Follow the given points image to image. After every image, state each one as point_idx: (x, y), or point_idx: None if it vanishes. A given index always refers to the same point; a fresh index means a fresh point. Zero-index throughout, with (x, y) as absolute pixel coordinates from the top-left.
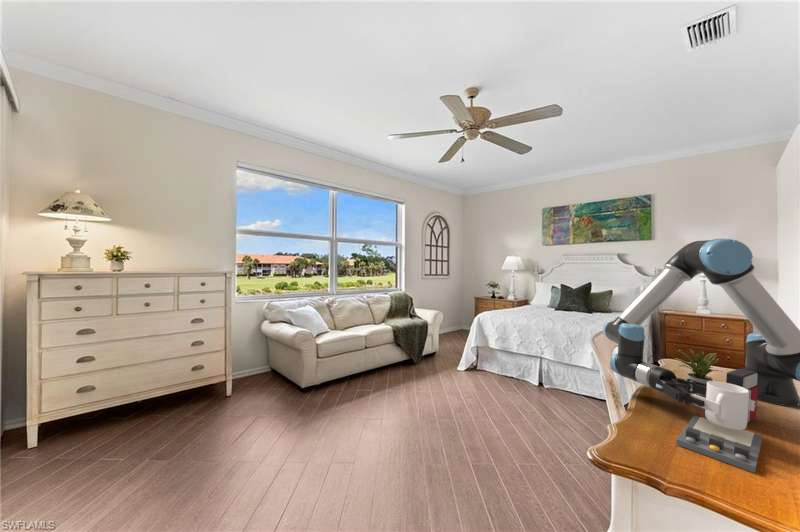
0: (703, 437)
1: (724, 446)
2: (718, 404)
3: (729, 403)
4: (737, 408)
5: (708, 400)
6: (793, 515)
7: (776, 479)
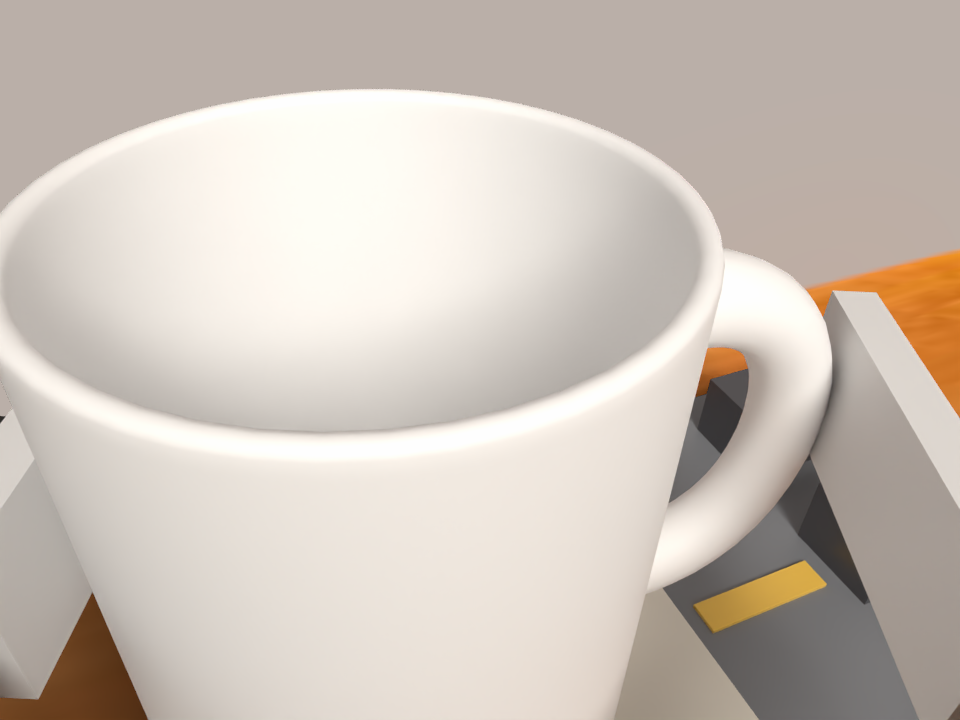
0: (880, 673)
1: (799, 528)
2: (875, 301)
3: (587, 326)
4: (510, 334)
5: (935, 382)
6: (927, 257)
7: (727, 351)
